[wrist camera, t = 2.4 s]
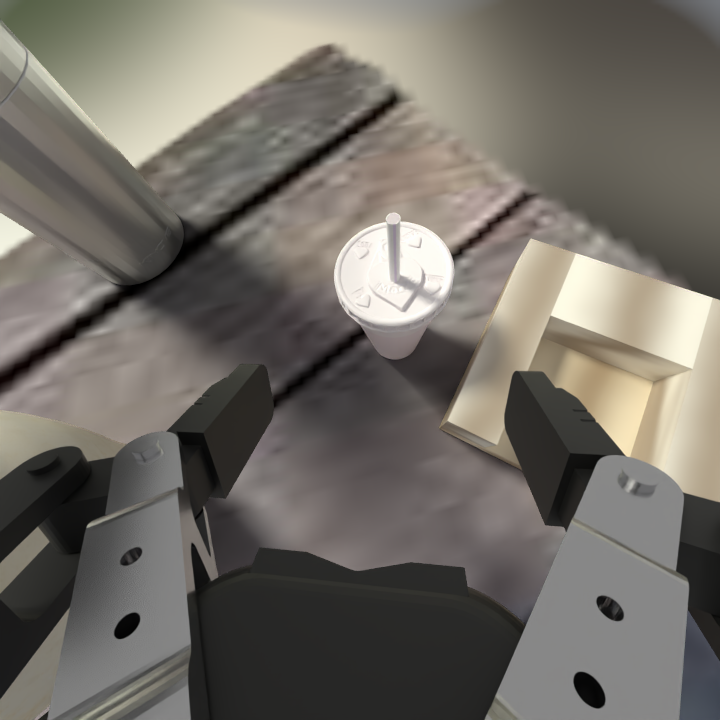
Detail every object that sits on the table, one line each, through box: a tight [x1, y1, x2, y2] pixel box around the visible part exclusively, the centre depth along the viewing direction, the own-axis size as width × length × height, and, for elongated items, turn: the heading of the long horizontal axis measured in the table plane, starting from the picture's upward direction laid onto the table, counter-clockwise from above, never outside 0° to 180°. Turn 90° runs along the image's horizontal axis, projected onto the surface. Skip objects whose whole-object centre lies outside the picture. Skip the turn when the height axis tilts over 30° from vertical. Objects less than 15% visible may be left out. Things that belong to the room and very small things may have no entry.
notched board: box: [439, 239, 720, 502], centre depth 21 cm, size 14×14×4 cm
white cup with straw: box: [334, 213, 454, 360], centre depth 19 cm, size 6×6×14 cm
